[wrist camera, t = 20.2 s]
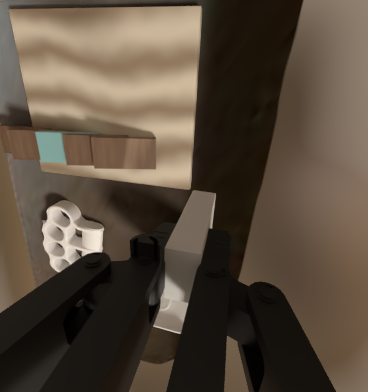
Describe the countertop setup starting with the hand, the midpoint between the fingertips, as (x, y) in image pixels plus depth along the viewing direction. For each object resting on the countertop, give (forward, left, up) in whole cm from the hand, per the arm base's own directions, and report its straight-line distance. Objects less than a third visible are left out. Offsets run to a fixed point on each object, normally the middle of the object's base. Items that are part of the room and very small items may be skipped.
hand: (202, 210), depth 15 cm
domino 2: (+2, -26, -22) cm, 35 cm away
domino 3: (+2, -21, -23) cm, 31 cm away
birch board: (-5, -20, -24) cm, 32 cm away
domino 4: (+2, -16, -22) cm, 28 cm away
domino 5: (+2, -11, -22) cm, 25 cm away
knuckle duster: (+24, -31, -25) cm, 46 cm away
